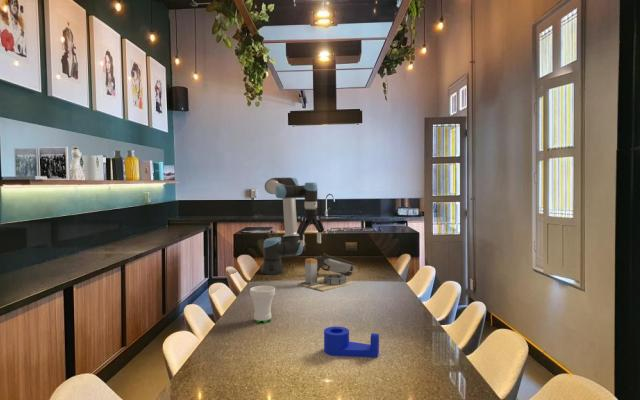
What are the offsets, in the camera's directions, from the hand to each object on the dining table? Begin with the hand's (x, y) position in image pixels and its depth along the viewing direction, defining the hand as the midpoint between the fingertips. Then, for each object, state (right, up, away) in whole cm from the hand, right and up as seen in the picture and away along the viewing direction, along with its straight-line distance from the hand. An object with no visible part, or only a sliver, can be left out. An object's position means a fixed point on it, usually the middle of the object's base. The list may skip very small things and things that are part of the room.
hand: (310, 244), depth 254 cm
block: (0, -23, 0) cm, 23 cm away
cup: (-20, -27, -65) cm, 73 cm away
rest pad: (0, -23, 0) cm, 23 cm away
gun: (+13, -23, +27) cm, 38 cm away
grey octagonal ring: (+14, -23, +3) cm, 27 cm away
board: (+9, -24, +1) cm, 25 cm away
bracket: (+17, -29, -100) cm, 105 cm away
